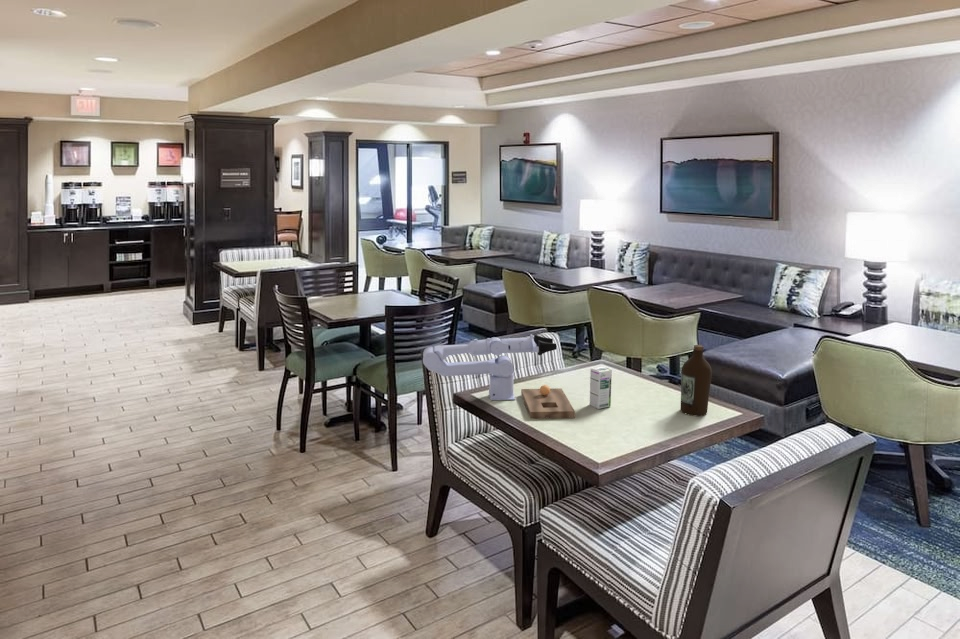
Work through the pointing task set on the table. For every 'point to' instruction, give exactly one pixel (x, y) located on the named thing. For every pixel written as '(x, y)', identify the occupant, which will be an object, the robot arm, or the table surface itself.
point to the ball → (544, 390)
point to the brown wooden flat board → (547, 404)
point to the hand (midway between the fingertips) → (554, 344)
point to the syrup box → (600, 387)
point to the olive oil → (695, 383)
